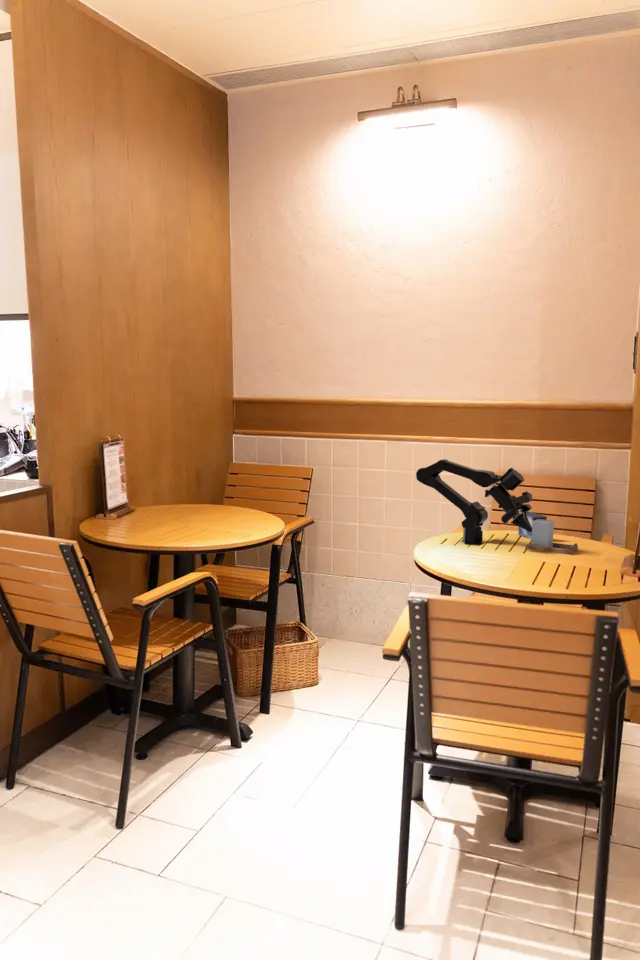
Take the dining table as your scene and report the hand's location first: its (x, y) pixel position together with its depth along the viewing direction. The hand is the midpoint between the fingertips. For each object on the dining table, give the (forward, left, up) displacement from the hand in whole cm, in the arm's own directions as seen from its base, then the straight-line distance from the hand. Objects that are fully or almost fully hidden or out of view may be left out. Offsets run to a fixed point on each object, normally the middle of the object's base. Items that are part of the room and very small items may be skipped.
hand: (531, 531), depth 284 cm
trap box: (+6, -4, -7) cm, 11 cm away
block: (+3, -2, -6) cm, 7 cm away
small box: (+6, +19, -7) cm, 21 cm away
